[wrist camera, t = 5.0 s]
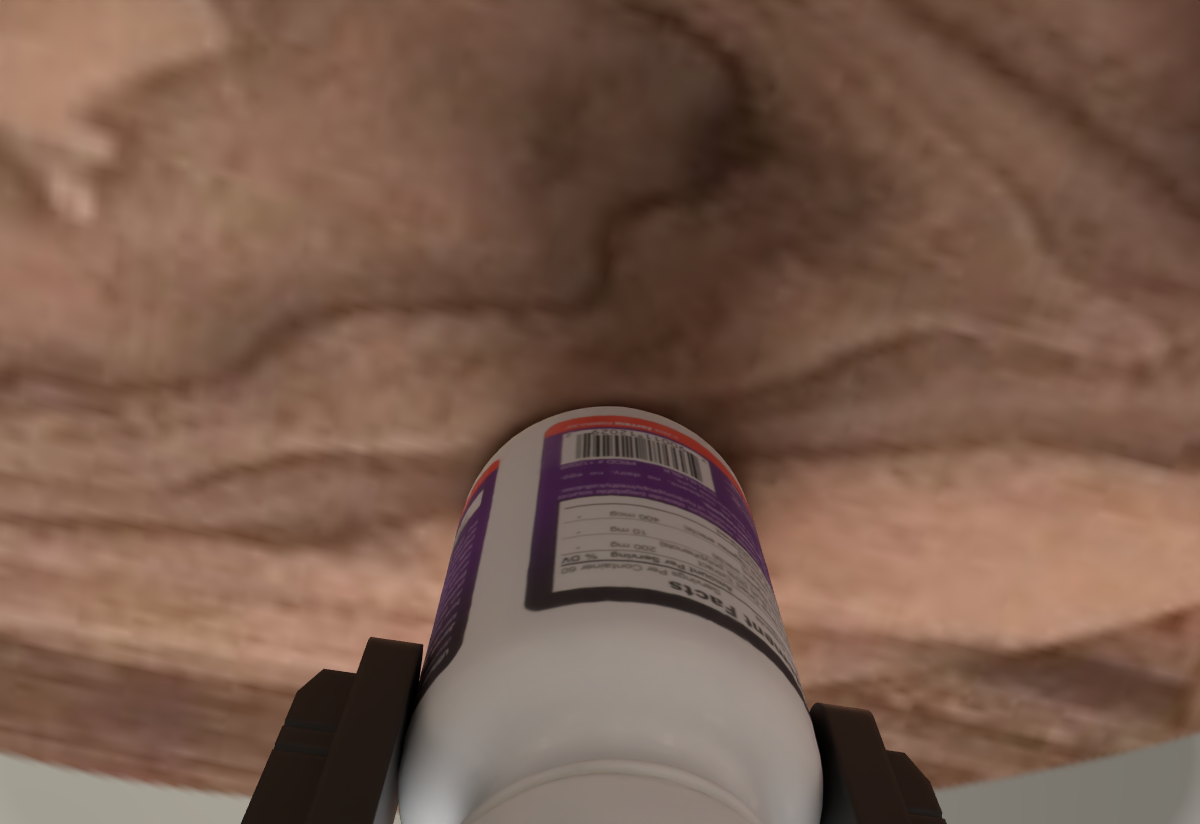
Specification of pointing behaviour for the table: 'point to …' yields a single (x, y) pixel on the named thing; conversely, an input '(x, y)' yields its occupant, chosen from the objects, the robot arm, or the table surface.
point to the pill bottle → (608, 644)
